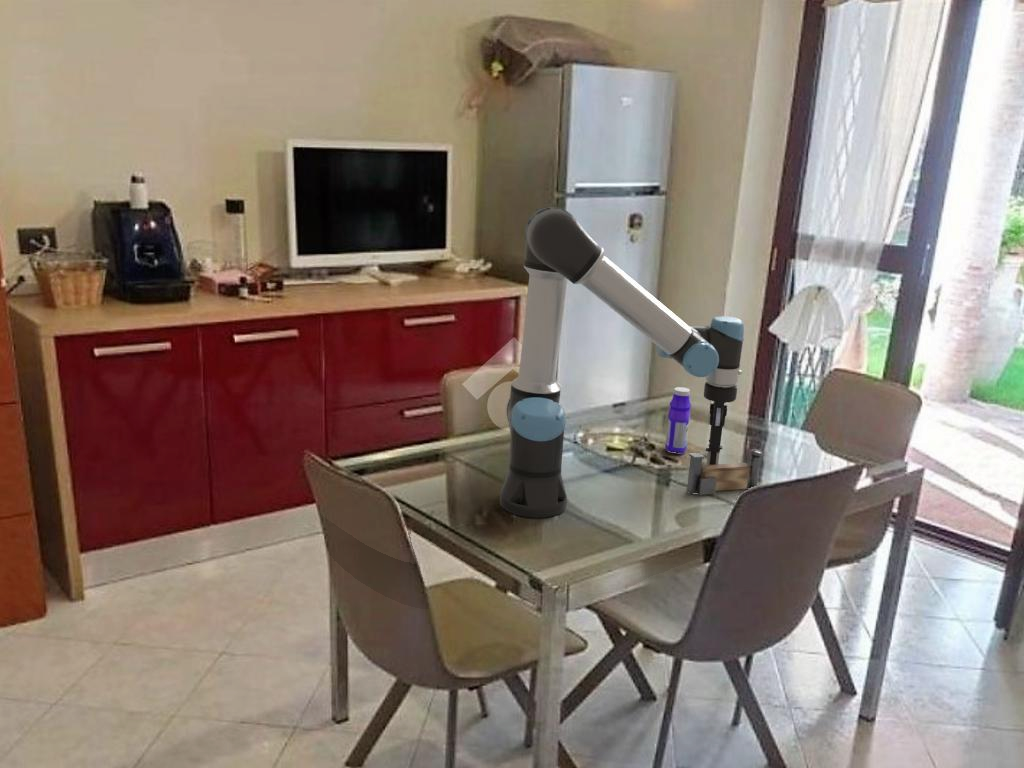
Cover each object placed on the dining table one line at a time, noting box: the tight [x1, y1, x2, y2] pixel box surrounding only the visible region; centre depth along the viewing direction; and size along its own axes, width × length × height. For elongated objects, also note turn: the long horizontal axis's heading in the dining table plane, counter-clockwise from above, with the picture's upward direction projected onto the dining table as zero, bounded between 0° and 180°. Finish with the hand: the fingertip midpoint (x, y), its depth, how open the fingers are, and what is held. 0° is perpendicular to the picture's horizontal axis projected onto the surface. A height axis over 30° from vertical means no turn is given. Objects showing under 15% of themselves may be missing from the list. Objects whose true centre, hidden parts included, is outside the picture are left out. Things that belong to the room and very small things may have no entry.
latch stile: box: [686, 452, 717, 496], centre depth 211 cm, size 6×4×10 cm
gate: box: [700, 462, 750, 492], centre depth 214 cm, size 13×2×6 cm, turn 106°
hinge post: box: [746, 448, 764, 489], centre depth 216 cm, size 3×3×10 cm
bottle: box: [664, 386, 692, 454], centre depth 237 cm, size 7×6×17 cm
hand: (711, 475), depth 216 cm, fingers closed
